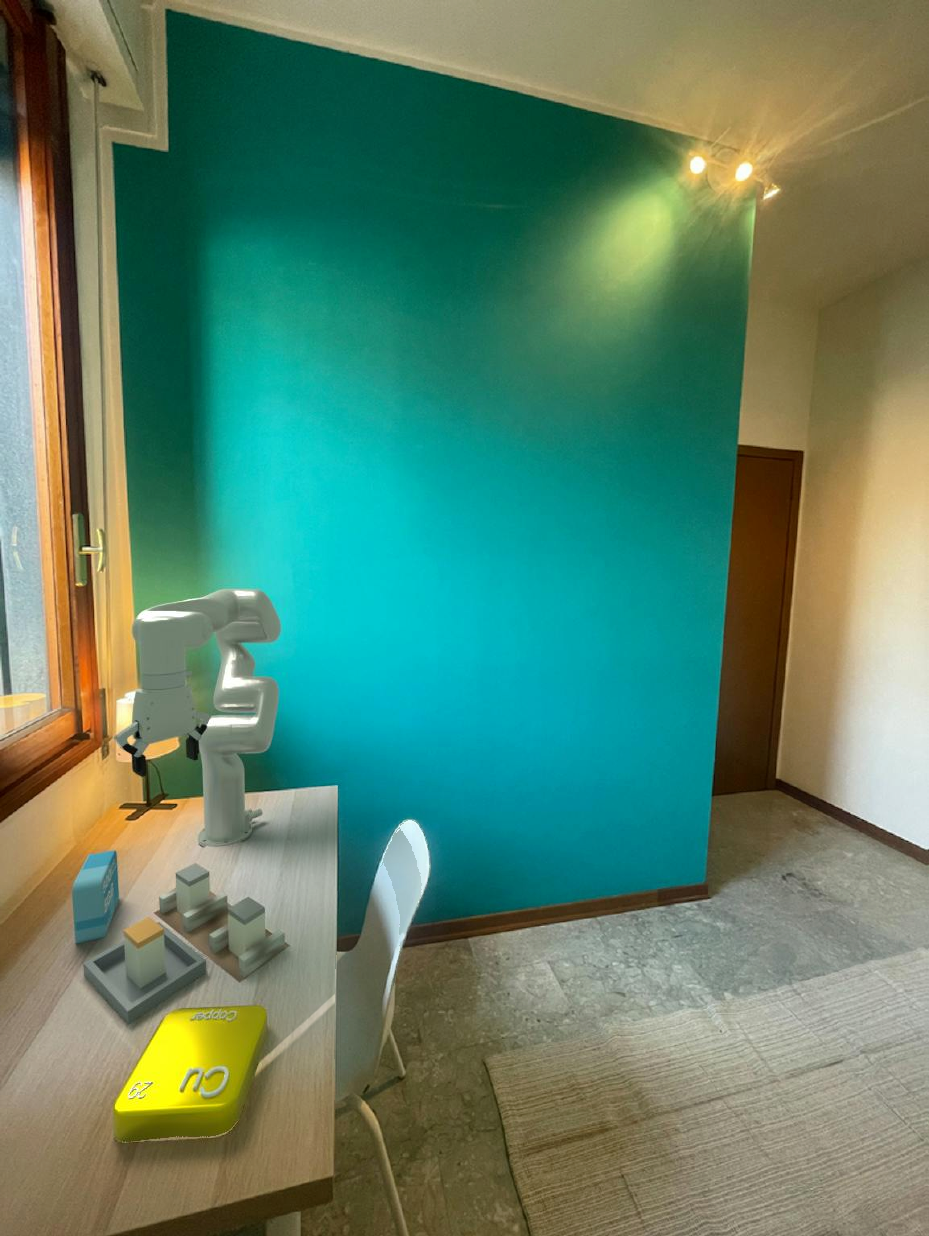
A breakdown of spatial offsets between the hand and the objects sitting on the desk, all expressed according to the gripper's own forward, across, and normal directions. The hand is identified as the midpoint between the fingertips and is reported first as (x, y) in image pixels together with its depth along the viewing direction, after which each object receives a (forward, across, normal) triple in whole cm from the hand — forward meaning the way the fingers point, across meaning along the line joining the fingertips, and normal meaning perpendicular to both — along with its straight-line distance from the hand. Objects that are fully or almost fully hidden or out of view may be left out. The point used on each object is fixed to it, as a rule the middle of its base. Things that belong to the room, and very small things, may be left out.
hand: (167, 766), depth 98 cm
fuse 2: (+30, -2, +22) cm, 37 cm away
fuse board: (+30, -2, +13) cm, 33 cm away
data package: (+31, +10, -8) cm, 33 cm away
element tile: (+31, +15, +37) cm, 50 cm away
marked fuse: (+30, +11, +13) cm, 34 cm away
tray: (+30, +11, +13) cm, 35 cm away
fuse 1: (+30, -2, +4) cm, 30 cm away
